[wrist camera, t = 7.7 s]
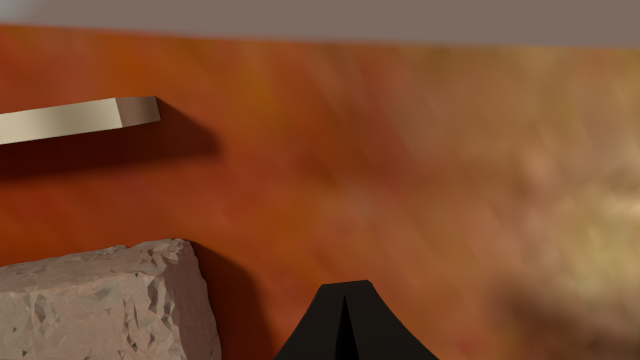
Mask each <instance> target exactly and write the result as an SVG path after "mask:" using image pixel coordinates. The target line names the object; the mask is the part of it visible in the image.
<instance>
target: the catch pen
mask: <svg viewBox="0 0 640 360" xmlns="http://www.w3.org/2000/svg"><path fill="white" fill-rule="evenodd" d="M160 120H161V119H160V115H159V110H158V106H157V102H156V98H155V96H151V97H127V98H111V99H104V100H97V101H90V102H83V103H77V104H70V105H63V106H56V107H49V108H42V109H35V110H28V111H21V112H14V113H7V114H0V144H6V143H13V142H20V141H28V140H35V139H42V138H49V137H57V136H64V135H71V134H78V133H85V132H93V131H100V130H107V129H114V128H122V127H127V126H133V125H138V124H144V123H149V122H155V121H160Z"/></svg>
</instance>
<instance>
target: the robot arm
mask: <svg viewBox="0 0 640 360" xmlns="http://www.w3.org/2000/svg"><path fill="white" fill-rule="evenodd" d="M273 360H439V359H438V358H437V357H436V356H435V355H434V354H432V353H431V352H430V351H429V350H428V349H427V348H426V347H425V346H424V345H423V344H422V343H421V342H420V341H419V340H418V339H416V338H415V337H414V336H413V335H412V334H411V333H410V332H409V330H408V329H407V328H406V327H405V326H404V325H403V324H402V323H401V322H400V321H399V320H398V318H397V317H396V316H395V315H394V314H393V313H392V311H391V310H390V309H389V308H388V307H387V305H386V304H385V303H384V301H383V300H382V299H381V297H380V296H379V294H378V293H377V291H376V290H375V288H374V287H373V285H372V283H371V282H370V281H368V280H361V281H351V282H342V283H333V284H323V285H321V286H320V288H319V289H318V291H317V293H316V295H315V297H314V299H313V301H312V302H311V304H310V306H309V308H308V309H307V311H306V313H305V314H304V316H303V317H302V319H301V321H300V322H299V324H298V325H297V327H296V328H295V330H294V331H293V333H292V334H291V336H290V337H289V339H288V340H287V341H286V343H285V344H284V345H283V347H282V348H281V349H280V351H279V352H278V353H277V355H276V356H275V357H274V359H273Z"/></svg>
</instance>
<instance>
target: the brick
mask: <svg viewBox="0 0 640 360" xmlns="http://www.w3.org/2000/svg"><path fill="white" fill-rule="evenodd" d="M0 360H221V345H220V339H219V336H218V332H217V328H216V321H215V317H214V315H213V312H212V310H211V307H210V304H209V300H208V292H207V283H206V282H205V280H204V279H203V278H202V276H201V273H200V270H199V267H198V259H197V257H196V256H195V255H194V250H193V248H192V246H191V245H190V242H189V241H185V240H182V239H174V240H172V239H169V238H168V239H163V240H157V241H147V242H143V243H141V244H138V245H136V246H134V247H132V248H127V247H126V246H124V245H115V246H112V247H109V248H106V249H100V250H95V251H88V252H83V253H73V254H68V255H65V256H62V257H51V258H48V259H43V260H38V261H35V262H26V263H18V264H12V265H7V266H4V267H0Z"/></svg>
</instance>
